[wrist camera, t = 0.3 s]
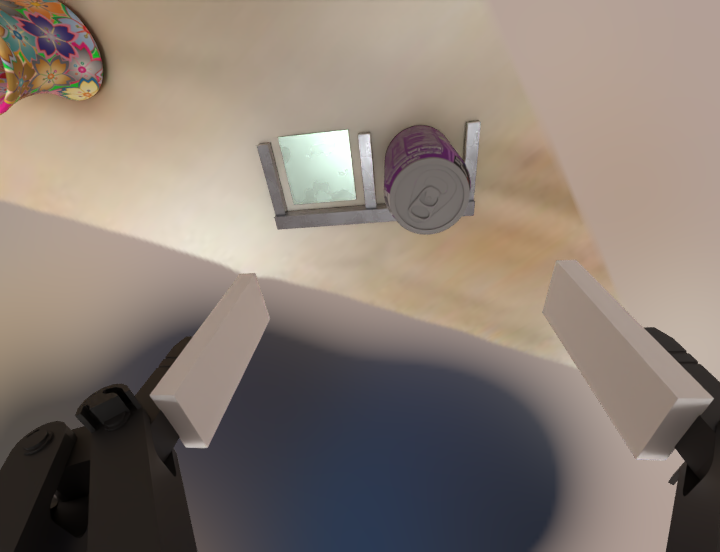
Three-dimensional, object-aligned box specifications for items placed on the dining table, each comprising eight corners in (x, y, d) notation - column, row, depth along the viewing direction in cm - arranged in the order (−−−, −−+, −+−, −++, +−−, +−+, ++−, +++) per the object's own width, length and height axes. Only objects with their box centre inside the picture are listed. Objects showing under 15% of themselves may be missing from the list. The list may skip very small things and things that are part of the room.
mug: (36, -41, 28) (-128, -89, 19) (131, 62, 31) (31, 62, 23) (-12, 58, 32) (-162, 57, 23) (76, 137, 36) (-25, 162, 27)
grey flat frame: (258, 138, 35) (253, 142, 33) (478, 115, 32) (482, 117, 30) (281, 223, 40) (277, 229, 39) (470, 210, 37) (473, 215, 36)
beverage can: (427, 201, 37) (441, 252, 27) (373, 174, 36) (368, 216, 26) (464, 144, 33) (496, 179, 23) (405, 111, 32) (413, 133, 22)
